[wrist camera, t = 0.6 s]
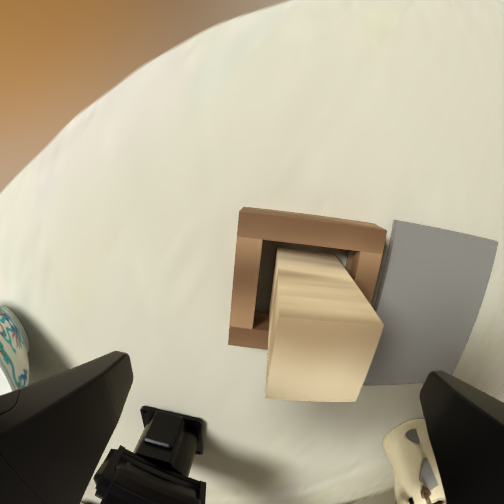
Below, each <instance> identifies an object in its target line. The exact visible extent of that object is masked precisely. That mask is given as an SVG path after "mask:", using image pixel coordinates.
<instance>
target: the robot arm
mask: <svg viewBox="0 0 504 504" xmlns="http://www.w3.org/2000/svg"><path fill="white" fill-rule="evenodd" d="M132 382H133V372H132V366H131V361H130V357H129V355H128V354H127V353H124V352H120V351H114V352H111V353H109V354H106V355H104V356H102V357H99V358H97V359H94V360H92V361H89V362H87V363H85V364H82V365H80V366H77V367H75V368H72V369H70V370H67V371H65V372H62V373H59V374H57V375H54V376H52V377H49V378H47V379H44V380H41V381H39V382H36V383H33V384H31V385H28V386H25V387H23V388H21V389H17V390H14V391H12V392H9V393H6V394H3V395H0V504H80V502H81V499H82V497H83V495H84V493H85V491H86V488H87V486H88V484H89V482H90V480H91V477H92V475H93V473H94V471H95V469H96V467H97V465H98V462H99V460H100V458H101V456H102V454H103V452H104V450H105V448H106V446H107V444H108V442H109V440H110V438H111V436H112V433H113V431H114V429H115V427H116V425H117V423H118V421H119V418H120V416H121V413H122V410H123V407H124V404H125V402H126V399H127V396H128V393H129V391H130V388H131V385H132ZM420 401H421V405H422V410H423V414H424V419H425V423H426V428H427V432H428V437H429V440H430V444H431V447H432V450H433V453H434V457H435V460H436V464H437V467H438V471H439V474H440V478H441V482H442V486H443V490H444V494H445V499H446V503H447V504H504V403H503V402H501V401H499V400H497V399H495V398H494V397H492V396H490V395H488V394H486V393H484V392H482V391H480V390H478V389H476V388H474V387H472V386H471V385H469V384H467V383H465V382H463V381H461V380H459V379H457V378H455V377H453V376H452V375H450V374H448V373H446V372H444V371H442V370H438V371H432V372H430V373H429V374H428V376H427V378H426V380H425V383H424V385H423V387H422V389H421V391H420ZM140 411H141V415H142V420H143V424H144V428H145V429H144V431H143V433H142V435H141V437H140V439H139V441H138V444H137V446H136V448H135V450H134V452H131V451H129V450H127V449H125V447H123V446H121V445H120V447H119V449H118V450H117V449H111V450H110V452H109V454H108V455H107V457H106V459H105V461H104V462H103V464H102V465H101V467H100V468H99V470H98V471H97V472H96V474H95V476H94V478H93V479H94V481H95V483H96V488H95V489H97V491H96V493H95V496H97V497H98V498H100V499H102V501H101V503H100V504H205V496H206V482H203V481H198V480H195V479H192V478H189V477H188V476H189V473H190V469H191V466H192V462H193V459H194V455H195V454H198V455H201V454H203V422H202V420H201V419H198V418H194V417H189V416H184V415H179V414H175V413H171V412H166V411H162V410H158V409H154V408H151V407H147V406H142V408H141V410H140Z"/></svg>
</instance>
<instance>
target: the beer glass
mask: <svg viewBox="0 0 504 504" xmlns="http://www.w3.org/2000/svg"><path fill="white" fill-rule="evenodd" d="M382 448H383V450H384V452H385V454H386V455H387V457H388V459H389V461H390V463H391V465H392V469H393V474H394V489H395V504H447V503H446V499H445V494H444V490H443V486H442V482H441V478H440V474H439V471H438V467H437V464H436V460H435V457H434V453H433V450H432V447H431V444H430V440H429V437H428V432H427V428H426V423H425V419H413V420H410V421H407V422H405V423H402V424H400V425H399V426H397V427H395V428H394V429H393V430H391V431H390V432H389V433H388V434H387V435H386V436H385V438H384V439H383V441H382Z"/></svg>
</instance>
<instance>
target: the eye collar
mask: <svg viewBox="0 0 504 504" xmlns="http://www.w3.org/2000/svg"><path fill="white" fill-rule="evenodd" d="M386 234H387V230H385V229H383V228H381V227H379V226H377V225H375V224H372V223H366V222H359V221H353V220H346V219H339V218H332V217H325V216H317V215H310V214H302V213H294V212H286V211H277V210H268V209H259V208H250V207H243V208H242V209H241V210H240V211H239V221H238V232H237V243H236V254H235V266H234V277H233V290H232V302H231V315H230V328H229V341H228V345H234V346H241V347H249V348H258V349H267V350H268V337H269V315H270V314H267V313H258V312H255V306H256V298H257V289H258V280H259V271H260V263H261V254H262V245H263V240H271V241H279V242H288V243H296V244H305V245H313V246H321V247H329V248H338V249H346V250H349V253H348V259H347V264H346V271H347V272H348V274H349V275H350V276H351V278H352V279H353V281H354V282H355V283H356V285H357V286H358V288H359V289H360V290H361V292H362V293H363V295H364V296H365V298H366V299H367V300H368V302H369V303H370V305H371V301H372V298H373V294H374V290H375V286H376V281H377V277H378V273H379V268H380V264H381V259H382V254H383V249H384V244H385V239H386Z"/></svg>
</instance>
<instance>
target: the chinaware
mask: <svg viewBox="0 0 504 504" xmlns="http://www.w3.org/2000/svg"><path fill="white" fill-rule="evenodd" d="M28 351H29V341H28V338H27V335H26V332H25V330H24V328H23V326H22V324H21V322H20V321H19V319H18V318H17V317H16V315H15V314H14V313H13V312H12V311H11V310H10V309H8V308H7V307H4V306H1V307H0V395H3V394H6V393H9V392H12V391H14V390H17V389H21V388H23V387H25V386H28V383H29V361H28V355H27V353H28Z"/></svg>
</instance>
